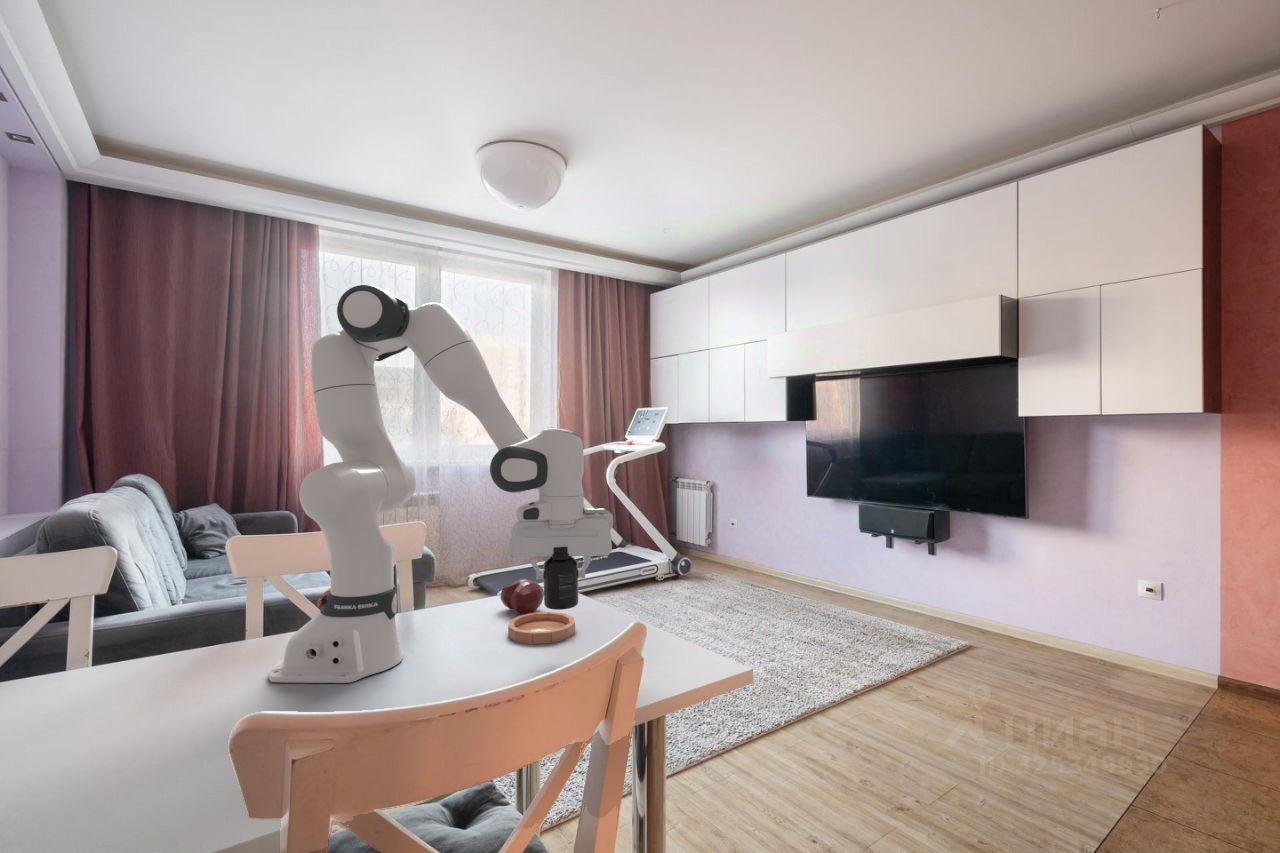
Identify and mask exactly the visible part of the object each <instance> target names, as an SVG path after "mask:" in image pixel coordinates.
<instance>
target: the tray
mask: <svg viewBox="0 0 1280 853" xmlns="http://www.w3.org/2000/svg"><path fill="white" fill-rule="evenodd" d="M575 621H576V620H575V617H574V616H571V615H569V614H567V613H562V612H555V611H542V612H539V611H537V612H533V613H530V614H525V615H521V614H520V615H518V616H516V617H514V618H512V619H510V620H509V621H508V628H507V630H508V631H507V632H508V633H507V638H509V637H510V638H509V639H511V640H513V641H515V642H516V643H522V644H530V645H538V644H551V643H556V642H560V641H563V640H567V639H569V638H570V637H571V636H573V635H575V634H576V622H575Z"/></svg>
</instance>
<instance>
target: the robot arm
mask: <svg viewBox="0 0 1280 853" xmlns="http://www.w3.org/2000/svg"><path fill="white" fill-rule="evenodd" d="M337 302H338V303H337V307H336V314H337V316H336V317H337V319H338V322H339V324H340V326H341V328H342V330H341V331H338V332H335V333H330V334H327V335H324V336H322V337H320V338H319V339H317V340H316V341H315V343H314V344H313V346H312V349H311V350H312V352H311V380H312V381H311V382H312V388H313V389H312V390H313V396H314V403H315V408H316V415H317V421H318V426H319V431H320V433H321V435H322V437H323V438H324V439H325V440H326V441H328V442H329V443H331V444H332V445H333V446H334V448H335V449H336V451H337V452H338V454H339V456H340V458H341V460H342V461H339V462H338V461H337V462H332V463H330V464H326V465H323V466H321V467H319V468H316V469H315V470H312V471H310V472H309V473H308V474H307V475H306V476H305V477H304V478H303V480H302V482H301V484H300V488H299V491H298V492H299V495H298V496H299V497H298V498H299V501H300V505H301V508H302V510H303V511H304V513H305V514H306V515H307V516H308V517H309V518H310V519H312V520H313V521H314V522H315V523H316V524H317V525H318V526H319V528H320V529H321V532H322V534H323V536H324V538H325V543H326V545H327V549H328V553H329V571H330V572H329V573H330V575H329V576H330V581H329V582H330V587H328V589H327V590H325V591H324V592H323V595H322V596H320V597H319V599H318V601H316V602H317V605H316V608H319V611H320V612H319V613H317V615H315V616H314V617H313V618H311V619H310V620H309V621H307V622H306V623H305V624H304V625H302V627H300V628H299V629H298V630H297V631H296V632H294V633H293V635H292V636H291V637H290V638H289V640H288V642H287V644H286V647H285V651H284V656H283V658H281V659H280V660H279V661H277V662H276V663H275V664H274V665H273V667H272V668H271V669H270V670H269V675H268V676H269V677H268V679H269V681H270V683H297V684H299V683H301V684H302V683H303V684H304V683H311V684H312V683H313V684H314V683H315V684H317V683H319V684H321V683H322V684H328V683H329V684H330V683H331V684H348V683H354V682H356V681H358V680H361V679H362V678H365V677H368V676H370V675H374V674H379V673H380V672H384V671H386V670H389V669H391V668H392V667H395V666H396V665H398V664H399V663H400V662H401V661H402V660H403V658H404V654H403V652H402V649H401V645H400V642H399V637H398V631H397V623H396V615H397V609H398V596H397V595H398V594H397V586H396V585H395V584H394V581H395V580H394V577H395V576H394V571H395V570H394V567H395V566H394V548H393V545H392V543H390V541H389V540H387V539H385V538H384V535H383V534H382V532H381V529H380V525H379V523H378V515H381V514H386V513H390V512H392V511H395V510H396V509H398V508H400V507H401V506H403V505H405V504H406V503H408V502H409V501H410V500H411V499H412V497H413V496H414V493H415V491H416V485H417V484H416V476H415V474H414V472H413V470H412V469H411V468H410V466H408V465H407V464H406V463H405V462H404V461H402V459H401V458H400V456H399V455H398V453H397V451H396V449H395V447H394V446H393V443H392V442H391V439H390V437H389V435H388V432H387V429H386V426H385V423H384V420H383V414H382V410H381V404H380V400H379V395H378V389H377V382H376V378H375V377H376V376H375V369H374V366H375V362H381V361H384V360H386V359H388V358H390V357H392V356H395V355H397V354H400V353H402V352H404V351H405V350H407V349H409V350H411V351H412V352H413V353H414V355H415V356H416V357H417V359H418V361H419V363H420V364H421V366H422V368H423V369H424V371H425V372H426V374H427V375H428V376H427V377H429V379H430V380H431V382H432V383H433V384H434V385H435V386H436V388H437V389H438V390H439V391H440V392H441V394H443V395H444V396H445V398H447V399H449V400H450V401H452V402H455V403H456V404H458V405H460V406H462V407H463V408H464V409H467V410H468V411H469V412H471V414H473V416H475V417H476V418H477V420H478V421H479V422H480V424H481V426H482V427H483V428H484V429H485V431H486V433H487V434H488V436H489V437H490V439H491V440H492V442H493V444H494V445H495V446H496V448H497V450H498V451H497V452H496V453H495V454H494V455H493V456H492V459H491V461H490V465H489V473H490V476H491V480H492V481H493V484H495V486H497V487H498V488H499V489H500V490H502V491H505V492H506V493H507V492H508V493H513V494H520V493H523V492H526V491H531V490H538V492H539V493H538V500H535V501H531V502H529V503H526V504H522V505H520V506H519V507H518V508H517V509H516V512H515V513H516V514H515V517H516V520H515V521H514V523H513V526H512V528H511V532H510V538H509V539H510V540H509V548H508V552H509V553H508V554H509V555H510V556H511V557H512V558H514V559H517V558H519V559H520V558H522V559H523V558H530V564H531V566H532V568H533V570H534V571H535V572H536V573H535V575H536V580H537V581H539V580H541V581H542V580H543V581H544V569H543V568H540V566H538V563H539V558H549V557H552V554H553V548H555V547H568V554H569V556H572V557H582V559H583V564H582V566H581V567H578V579H586V570H587V569H588V568H589V565H590V564H591V562H592V557H593V556H594V557H597V556H599V557H600V556H609V555H610V554H611V552H612V550H613V544H612V535H611V530H612V528H613V527H614V516H613V514H612V512H610V511H609V510H606V508H584V505H585V504H584V501H585V500H584V497H585V496H584V489H583V488H584V487H583V483H582V482H583V477H584V475H585V474H584V473H585V459H584V458H585V457H584V446H583V441H582V438H581V437H580V436H579V434H578V433H576V432H574V431H573V430H569V429H565V428H560V427H553V426H548V427H544V428H543V429H542V430H541V431H539V432H537V433H536V434H534V435H531V437H528V436H527V435H525V432H523V430H522V429H521V428H520V425H519V424H518V422H517V420H516V419H515V418H514V416H513V414H511V413H512V412H510V410H509V409H508V407H507V406H506V404H505V402H504V401H503V398H501V395H500V392H498V388H497V387H496V385H495V382H494V379H493V378H492V376H491V373H490V370H489V368H488V365H487V364H486V361H485V359H484V358H483V356H482V354H481V351H480V349H479V347H478V345H477V344H476V343H475V340H474V339H473V338H472V336H471V335H470V333H469V332H468V330H467V329H466V327H465V326H464V325H463V324H462V323H461V321H460V320H459V318H458V317H457V316H456V315H455V314H454V313H453V312H452V311H451V310H450V308H448V306H447V305H445V304H443V303H440V302H439V303H438V302H428V303H424V304H421V305H419V306H417V307H415V308H410V307H409V305H408V303H407V302H406V301H404V300H403V299H401V298H399V297H397V296H396V295H393V294H392V293H390V292H389V291H387V290H386V289H383V288H380V287H379V286H376V285H369V284H359V285H356V286H352V287H350V288H349V289H348V290H345V292H344V293H343V294H342V295H341V297H340V298H339V300H338V301H337Z"/></svg>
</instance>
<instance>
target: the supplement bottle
mask: <svg viewBox="0 0 1280 853" xmlns="http://www.w3.org/2000/svg"><path fill="white" fill-rule="evenodd" d="M578 568H579V564H578V561H577V559H576V558H574V556H569V554H568V547H555V548H553V554H552V557H547V559H546V560H545V561H544V562H543V568H542V569H544V579H543V590H544V597H543V601H544V603H543V605H544V606H545V608H547V609H549V610H554V611H555V610H559V611H560V610H569V609H573V608H575V607H576V606H578V605H579V578H578Z"/></svg>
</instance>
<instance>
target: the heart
mask: <svg viewBox="0 0 1280 853" xmlns="http://www.w3.org/2000/svg"><path fill="white" fill-rule="evenodd" d="M500 600H501V602H502V604H503V605H504V607H506V608H508V609H509V610H513V611H515V612H516V613H517V614H518V615H520V616H521V615H525V614H530V613H535V612H536V611H537V610H538V609H539V608H540V607H541V605H542V604H543V601H544V587H542V586H541V585H540V584H539V583H538V582H536V581H534V580H530V579H525V578H520V579H517V580H515V581H512V582H511V583H509V584H507V585H506V586H504V587H503V588H502V590H501V592H500Z"/></svg>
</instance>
